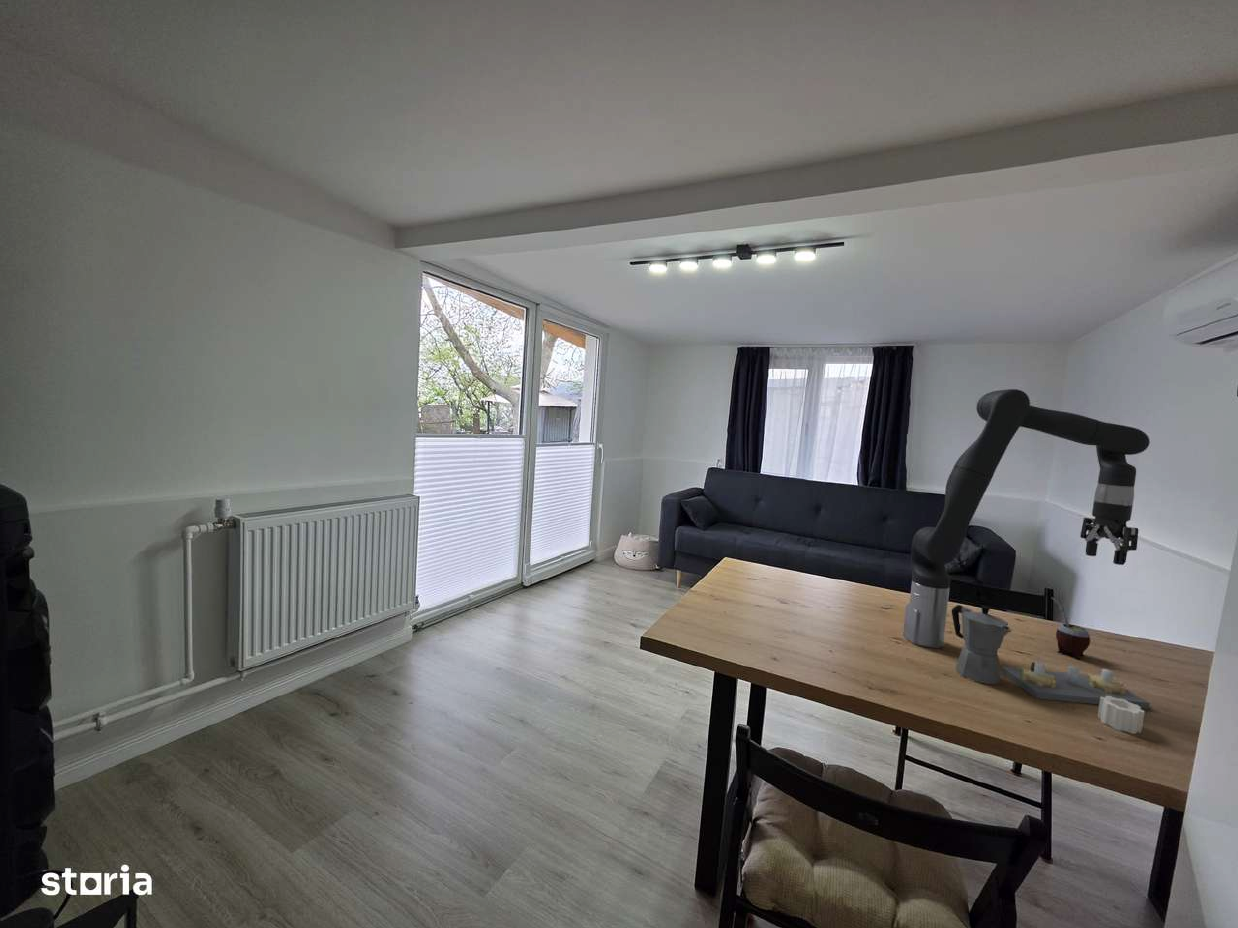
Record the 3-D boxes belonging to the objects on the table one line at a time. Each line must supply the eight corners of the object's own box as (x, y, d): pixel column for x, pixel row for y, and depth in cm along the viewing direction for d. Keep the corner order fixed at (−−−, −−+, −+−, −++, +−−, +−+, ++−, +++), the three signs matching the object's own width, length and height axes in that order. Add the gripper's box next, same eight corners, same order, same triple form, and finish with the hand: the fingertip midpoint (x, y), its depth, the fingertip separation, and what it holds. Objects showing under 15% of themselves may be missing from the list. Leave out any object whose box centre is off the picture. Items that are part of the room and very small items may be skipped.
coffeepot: (1018, 688, 119) (1027, 616, 117) (987, 691, 117) (996, 617, 115) (961, 657, 134) (968, 593, 132) (932, 659, 132) (939, 594, 130)
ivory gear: (1116, 731, 103) (1119, 711, 102) (1089, 713, 109) (1092, 694, 109) (1150, 735, 102) (1154, 714, 102) (1121, 716, 109) (1124, 697, 108)
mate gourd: (1094, 662, 135) (1101, 609, 134) (1061, 657, 137) (1068, 605, 136) (1074, 650, 143) (1081, 599, 141) (1043, 646, 144) (1050, 596, 143)
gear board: (1036, 698, 115) (1039, 675, 114) (1001, 672, 126) (1004, 651, 126) (1148, 708, 112) (1152, 685, 112) (1102, 681, 124) (1105, 660, 124)
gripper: (1076, 496, 141) (1068, 552, 143) (1122, 504, 127) (1113, 566, 128) (1104, 498, 141) (1096, 554, 142) (1154, 507, 126) (1144, 568, 128)
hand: (1104, 559), depth 135 cm, fingers open, 8 cm apart
